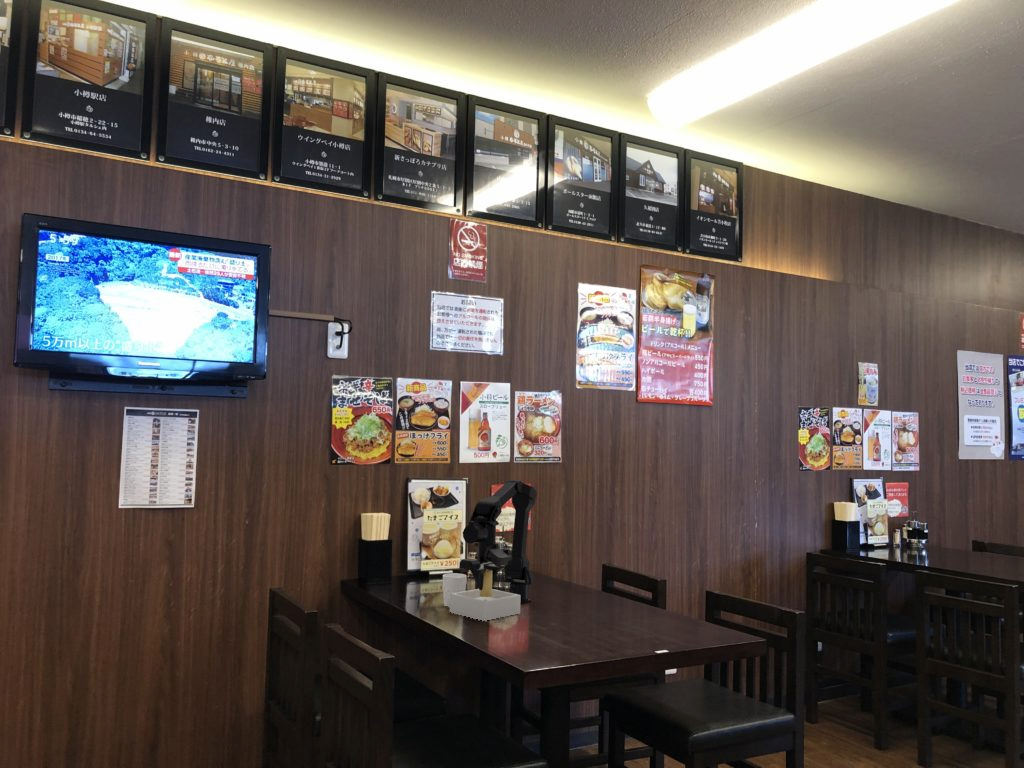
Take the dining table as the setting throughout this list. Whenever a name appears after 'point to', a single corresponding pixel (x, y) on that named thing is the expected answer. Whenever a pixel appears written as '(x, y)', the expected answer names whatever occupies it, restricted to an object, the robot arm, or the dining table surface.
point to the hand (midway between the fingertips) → (485, 589)
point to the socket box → (485, 604)
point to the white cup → (452, 585)
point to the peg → (487, 584)
